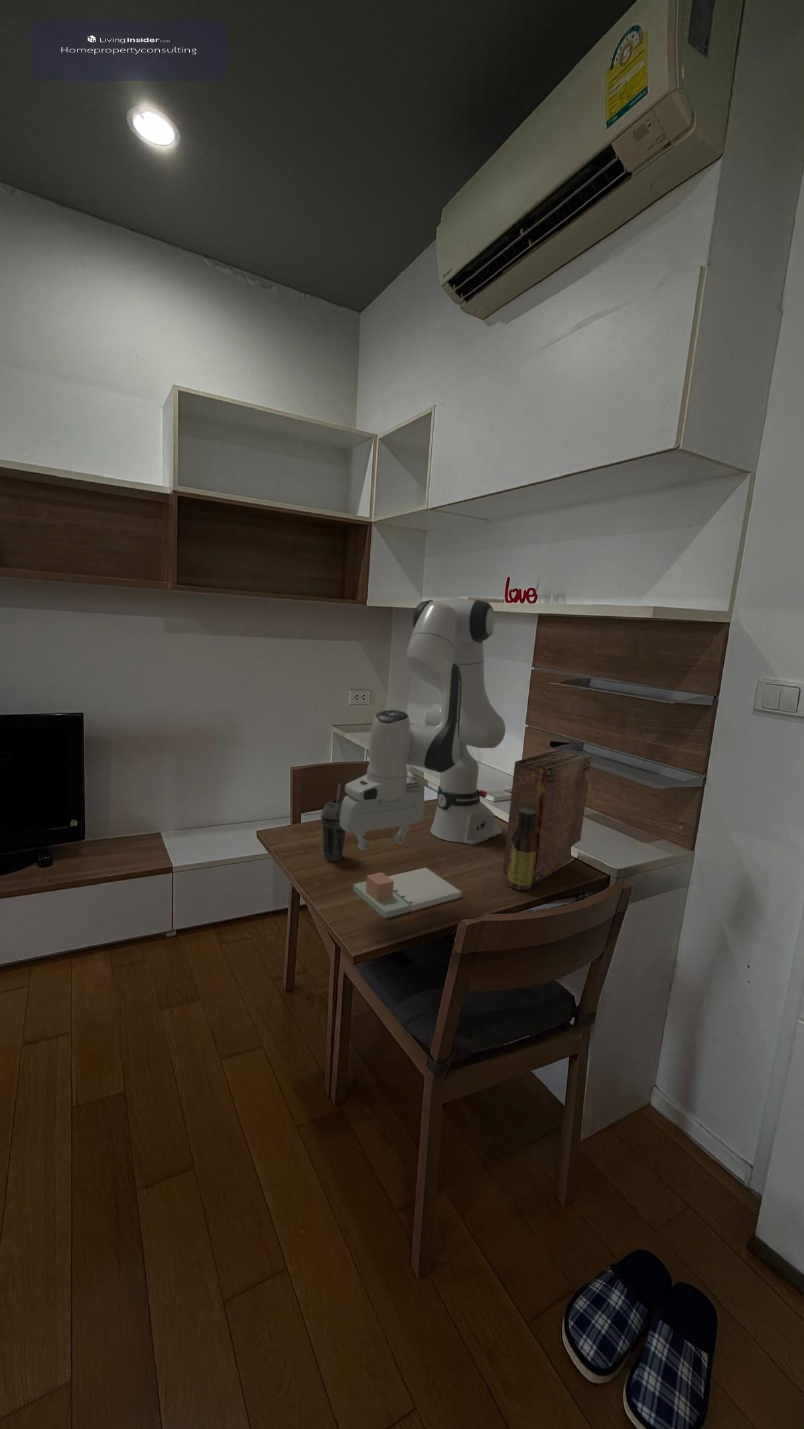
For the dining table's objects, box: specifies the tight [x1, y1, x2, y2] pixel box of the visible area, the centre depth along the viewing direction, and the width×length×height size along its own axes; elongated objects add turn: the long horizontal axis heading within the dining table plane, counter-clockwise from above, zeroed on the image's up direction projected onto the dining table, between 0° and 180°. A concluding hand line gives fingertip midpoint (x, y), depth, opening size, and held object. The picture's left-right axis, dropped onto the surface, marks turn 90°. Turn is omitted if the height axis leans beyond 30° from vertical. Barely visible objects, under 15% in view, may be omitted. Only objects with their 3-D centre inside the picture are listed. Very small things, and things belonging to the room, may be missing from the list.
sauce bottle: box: [507, 808, 537, 892], centre depth 141 cm, size 6×6×20 cm
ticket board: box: [387, 867, 462, 912], centre depth 136 cm, size 14×14×2 cm
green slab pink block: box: [352, 871, 411, 919], centre depth 129 cm, size 6×14×6 cm, turn 34°
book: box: [502, 748, 592, 886], centre depth 153 cm, size 25×9×30 cm, turn 138°
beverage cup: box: [320, 783, 347, 862], centre depth 149 cm, size 7×7×20 cm
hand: (381, 845), depth 127 cm, fingers open, 8 cm apart
